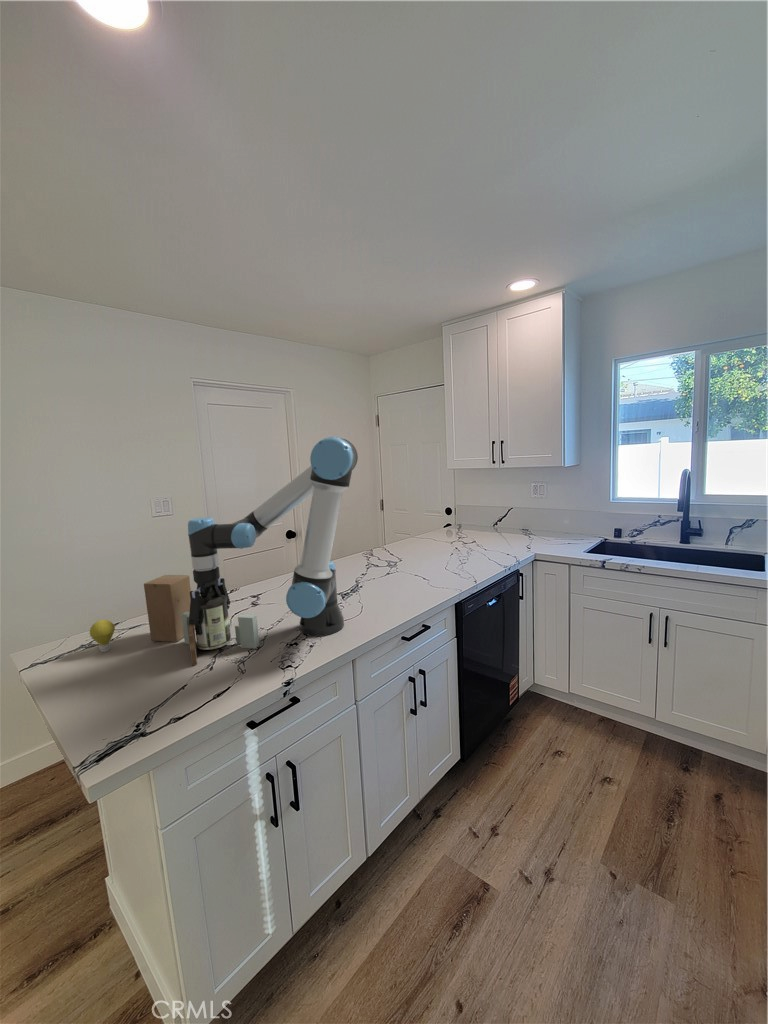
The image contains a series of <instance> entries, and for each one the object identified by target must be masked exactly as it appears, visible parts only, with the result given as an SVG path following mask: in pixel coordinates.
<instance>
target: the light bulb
mask: <svg viewBox="0 0 768 1024" xmlns="http://www.w3.org/2000/svg"><path fill="white" fill-rule="evenodd" d="M115 630H116V627H115V625H114V622H112V621H110V620H108V619H100V620H98V621H96V622H94V623H92V625H91V627H90V629H89V636H90V637H91V638H92V639H93V640H94V641H95V642H96V643H97V644H98V650H100V652H101V653H105V652H108V651H110V647H111V645H112V644H111V639H112V638H113V635H114V633H115Z"/></svg>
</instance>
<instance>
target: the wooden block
mask: <svg viewBox="0 0 768 1024" xmlns="http://www.w3.org/2000/svg"><path fill="white" fill-rule="evenodd" d="M191 587H192V586H191V579H190V575H189V574H163V575H161V576H159V577H156V578H154V579H152V580H149V581H147V582H144V583H143V589H144V597H145V603H146V611H147V617H148V618H147V619H148V625H149V634H150V640H151V641H152V642H171V643H178V642H179V641H181V640H182V639H184V632H183V623H182V615H181V614H183V613H185V612H190V600H191V598H190V591H192V588H191ZM194 629H195V625H194Z"/></svg>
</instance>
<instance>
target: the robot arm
mask: <svg viewBox="0 0 768 1024" xmlns="http://www.w3.org/2000/svg"><path fill="white" fill-rule="evenodd" d="M357 451H358V450H357V449H356V447H355V445H354V443H352V442H350V441H349V440H347V439H345V438H342V437H341V438H340V437H338V436H337V437H335V436H329V437H328V436H327V437H324V438H323V439H321V440H319V441H318V442H317V443H316V444H315V445H314V446H313V448H312V449H311V453H310V457H309V461H310V466H309V467H308V468H306V469H305V470H304V471H302V472H301V473H300V474H298V475H297V476H296V477H295V478H294V479H291V481H290V482H288V483H287V484H286V485H285V486H283V487H282V488H281V489H280V490H278V491H277V492H276V493H274V494H273V495H272V496H271V497H269V498H268V499H267V500H266V501H264V502H263V503H262V504H260V505H259V506H258V507H256V508H255V509H253V511H252V512H250V513H248V515H247V516H244V517H243V518H242V519H239V520H237V521H235V522H232V523H223V524H219V523H215V521H214V520H215V519H214V518H213V517H197V518H192V519H190V520H188V522H187V536H188V540H189V541H188V542H189V548H190V556H191V565H192V569H193V571H192V574H193V582H194V583H196V589H195V590H191V591H190V598H191V600H190V613H189V624H191V625H195V636H196V635H197V639H196V642H197V641H198V644H206V643H207V638H206V629H205V623H203V618H204V613H203V609H202V610H199V609H200V606H204V605H206V604H207V602H208V601H209V598H210V597H211V596H212V597H221V595H224V596H226V597H227V607H228V610H229V609H230V605H231V600H230V596H229V593H228V590H227V588H226V583H225V582H226V581H225V578H223V577H221V575H220V567H219V564H220V563H219V557H218V556H219V554H218V550H221V549H241V550H242V549H245V548H246V549H247V548H252V547H253V546H254V545H255V543H256V539H257V538H258V537H259V538H260V536H261V535H262V534H263V533H264V532H265V531H266V530H268V529H269V528H270V527H272V526H273V525H274V524H276V523H277V522H278V521H279V520H281V519H282V518H283V517H285V516H287V514H288V513H290V512H291V511H292V510H294V509H295V508H296V507H298V506H299V505H300V504H302V503H303V502H304V501H305V500H307V499H308V498H309V497H311V501H310V508H309V513H308V514H309V515H308V519H307V526H306V531H305V536H304V542H303V548H302V554H301V559H300V563H299V564H297V565H295V567H294V569H293V574H292V580H291V585H290V586H289V588H288V590H287V591H286V594H285V595H286V597H285V601H286V602H285V603H286V605H287V607H288V609H289V610H290V611H291V612H292V614H294V615H295V616H297V617H299V618H300V619H299V631H300V632H301V633H302V634H303V635H306V636H314V637H318V636H319V637H320V636H321V637H322V636H328V635H332V634H335V633H337V632H339V631H341V630H342V629H343V628H344V627H345V619H344V615H343V613H342V611H341V608H340V606H339V604H338V589H337V575H336V574H337V573H336V571H337V570H336V565H335V562H333V561H332V560H331V559H332V558H331V556H332V552H333V548H334V547H333V545H334V541H335V537H336V536H335V535H336V530H337V526H338V519H339V514H340V510H341V504H342V500H343V493H344V491H346V490H347V489H349V488H350V483H351V479H352V473H353V471H354V469H355V468H356V465H357V463H358V460H359V459H358V452H357ZM201 597H202V598H201ZM203 598H205V599H203Z"/></svg>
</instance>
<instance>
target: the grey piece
mask: <svg viewBox="0 0 768 1024" xmlns="http://www.w3.org/2000/svg"><path fill="white" fill-rule="evenodd" d="M189 613H190V612H185V613H183V614H181V615H182V623H183V632H184V638H183V639H184V644H185V645H186V644H187V645H190V643H189ZM237 620H238V621H237V622H238V625H234V630H235V631H234V632H235V640H236V641H235V642H236V644H237V645H240V648H242V649H243V648H244V649H257V648H258V647H259V646H260V638H259V628H258V616H257V614H248V613H247V614H245V613H244V614H240V615H239V616H238V617H237Z"/></svg>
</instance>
